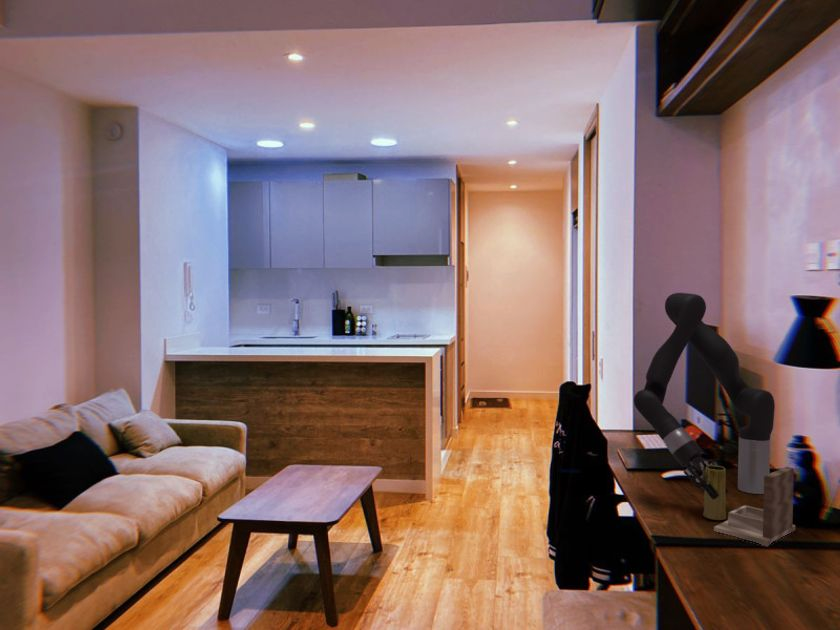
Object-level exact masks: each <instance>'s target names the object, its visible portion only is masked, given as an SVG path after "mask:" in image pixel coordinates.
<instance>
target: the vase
mask: <svg viewBox="0 0 840 630" xmlns="http://www.w3.org/2000/svg"><path fill="white" fill-rule="evenodd" d="M715 465H716V464H715ZM715 465H710V466H706V473H707V476H708V477H707V479H708V480H709V482H710V484H711V485H712V486H713V488H714V489H715V490H716V491H717V493H718V494H719V496H718V497H717V498H716V499H712V498H711V497H710V496H709V494H708V493H707V492H706V490H705V489H704V498H703V499H704V500H703V513H702V514H703V515H702V516H703V517H704V518H706V519H709V520H711V521H712V520H714V521H723V520H726V519H727V513H726V503H727V502H726V500H727V499H726V497H727V496H726V495H727V494H725V486H726V483H727V482H726V479H727V478H726V477H727V475H726V472H727V471H726V468H725V467H724V466H722V465H716V466H715ZM710 484H709V485H710Z"/></svg>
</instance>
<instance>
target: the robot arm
mask: <svg viewBox="0 0 840 630" xmlns="http://www.w3.org/2000/svg"><path fill="white" fill-rule="evenodd" d="M706 309H707V303H706V300H705V299H704V298H703V297H702V296H701V295H699V294H695V293H688V292H675V293H671V294H670V295H668V296H667V298H666V299H665V302H664V310H665V313H666V315H667V318H669V319H670V321H671V322H672V323H673V324H674V325H675V327H674V329H673V332H672V333H671V334H670V335H669V337H668V339H666V340H665V342H664V343H663V344H662V345H661V346H660V347H659V348H658V349H657V351H656V352H655V354H654V356H653V357H652V359H651V362H650V365H649V367H648V370H647V372H646V374H645V379H646V383H645V385H644V388H643V389H641V390H639V391H637V392H636V393H635V395H634V397H633V405H634V406H635V408H636V409H637V411H638V412H639V414H640V415H641V416H642V417H643V418H644V419H645V420H646V422H648V424H650V426H651V427H652V428H653V430H654V431H655V432H656V434H657V435H658V436H659V437H660V439H661V440H662V442H663V443H664V445H665V447H666V448H667V449H668V450H669V452H670V453H671V455H673V457H674V458H675V460H676V461H677V462H678V463H679V465H680V466H681V467H686V469H685V470H684V471H683V474H684V475H685V476H686V477H687V478H688V479H689V480H690V481H691V483H693V485H694V486H695V487H696V488H697V489H700V488H701V489H703V490H704V491H705V490H706V492H707V493H708V494H709V496H710V497H711V498H712V499H716V498H717V497H718V496H719V494H718V493H717V491H716V490H715V489H714V488H713V486H712V485H711V484H710V482H709V480H708V479H707V477H708V476H707V473H706V466H710V465H715V466H717V465H716V463H715V462H714V460H712V459H709V460H706V458H705V459H704V458H703V456H702V455H703V454H704V451H703V449H702V448H701V446H700V445H699V444H698V443H697V442H696V441H695V439H694V438H693V437H692V436H691V434H689V432H688V431H687V430H686V429H685V428H684V427H683V426H682V424H680V422H679V420H677V419H676V417H675V416H674V415H673V414H672V413H670V412H669V411H668V410H667V408H666V407H665V406H664V405H663V404H664V401H665V397H666V393H667V388H668V385H669V382H670V381H671V379H672V376H673V373H674V371H675V368H676V366H677V364H678V362H679V359H680V358H681V356H682V353H683V352H684V350H685V349H686V346H687V345H688V343H690V344H691V345H692V347H693V348H694V349H695V351H696V352H697V353H698V355H699V356H700V358H701V360H702V361H703V363H705V365H706V366H707V368H708V369H709V370H710V371H711V372H712V374H713V375H714V377H715V378H716V379H717V381H718V383H719V384H720V385H721V386H722V388H723V389H724V392H726V394H727V397H728V398H729V400H730V402H731V404H732V405H733V407H734V408H735V410H736V411H737V412H738V413H740V414H741V415H743V416H746V417H747V416H748V417H750V420H749V424H748V425H747V426H742V427H740V428H739V430H738V455H737V456H738V459H737V460H738V463H737V464H738V467H737V490H739V491H740V492H743V493H748V494H755V495H764V476H765V475H768V474H770V466H771V464H770V463H771V462H770V461H771V435H772V433H773V430H774V429H773V428H774V420H775V409H776V407H775V406H776V405H775V399H774V396H773V394H772V393H771V392H770V391H768V390H765V389H760V388H755V387H754V388H753V387H750V386H749V385H748V384H747V383H746V382H745V380H744V379H743V378H742V377H741V374H740V364H739V363H740V361H739V358H738V355H737V354H736V352H735V351H734V349H733V348H732V347H731V345H730V344H729V342H728V341H727V340H726V339H725V338H724V337H723V336H721V335H720V334H719V333H717V332H716V331H715V330H714V329H712V328H711V327H709V325H707V324H706V323H704V321H702V320H703V319H704V316H705V314H706ZM709 484H710V485H709ZM729 492H730V490H729V489H728V487H727V486H726V485H725V494H726V495H727V494H728V493H729Z"/></svg>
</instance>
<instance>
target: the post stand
mask: <svg viewBox="0 0 840 630" xmlns="http://www.w3.org/2000/svg"><path fill="white" fill-rule="evenodd" d="M794 470H795V469H794V468H793V467H789V466H785V467H782V468H779V469H778V470H775V471H773V472H769V474H768V475H765V476H764V494H763V508H759V507H754V506H749V505H746V504H744V505H743V506H742V505H741V506H740V507H738V508H735V509H733V510H731V511H728V513H727V514H728V516H727V518H728V519H727V520H725V521H723V522H721V523H718V524H717V525H715V526H713V532H714V531H716V532H720V533H724V534H728V535H732V536H736V537H739V538H743V539H746V540H749V541H753V542H756V543H759V544H761V545H760V546H763V547H767V548H768V547H769V545H770V544H771V543H772V542H773V541H775V540H777V539H779V538H781V537H783V536H785V535H787V534H789V533H790V534H791V532H792V533H793V531H794V532H795V531H796V525H795V524H793V518H794V512H793V510H794V508H793V507H794V482H795V481H794V477H795V476H794V473H795V471H794ZM790 534H789V535H790ZM787 536H788V535H787ZM785 537H786V536H785ZM783 538H784V537H783ZM759 544H758V545H759ZM771 545H772V544H771ZM771 545H770V546H771Z"/></svg>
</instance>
